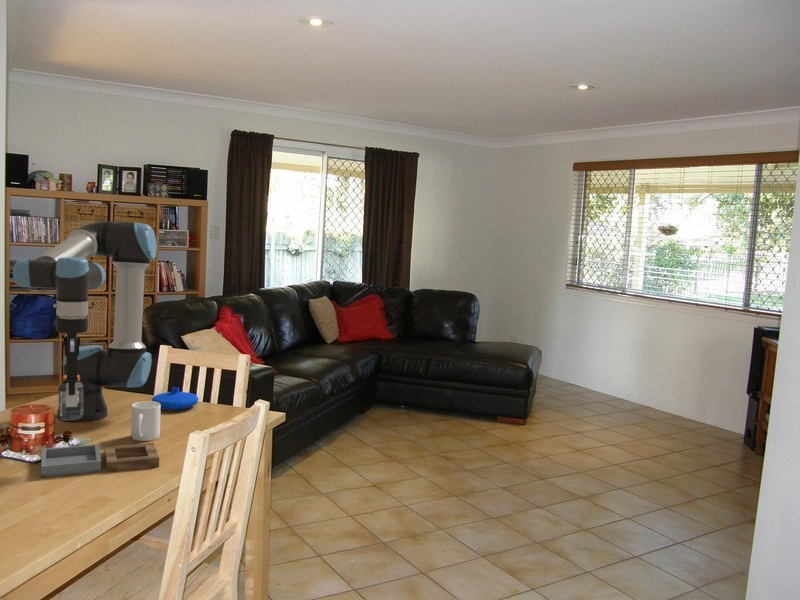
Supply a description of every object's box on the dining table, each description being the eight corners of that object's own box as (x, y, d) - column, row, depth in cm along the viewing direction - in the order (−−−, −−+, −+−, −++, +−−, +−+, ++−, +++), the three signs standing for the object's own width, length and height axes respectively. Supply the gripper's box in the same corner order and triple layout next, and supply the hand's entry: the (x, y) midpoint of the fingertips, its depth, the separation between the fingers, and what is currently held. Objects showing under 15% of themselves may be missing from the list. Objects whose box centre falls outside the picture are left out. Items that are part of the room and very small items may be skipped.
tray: (42, 459, 186) (42, 448, 185) (98, 454, 192) (98, 444, 192) (41, 478, 173) (40, 466, 173) (100, 471, 179) (101, 461, 179)
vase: (202, 402, 251) (203, 383, 250) (192, 414, 235) (193, 394, 234) (158, 400, 249) (159, 381, 248) (146, 412, 234) (146, 392, 233)
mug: (150, 446, 201) (151, 412, 200) (122, 445, 200) (122, 411, 199) (163, 433, 213) (164, 401, 212) (136, 432, 212) (137, 400, 211)
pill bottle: (69, 413, 184) (69, 372, 183) (88, 415, 183) (88, 374, 182) (53, 418, 179) (53, 376, 177) (72, 421, 177) (73, 379, 176)
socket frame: (103, 452, 194) (103, 443, 194) (152, 447, 200) (152, 439, 199) (107, 472, 180) (107, 462, 179) (159, 466, 186) (159, 457, 185)
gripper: (56, 311, 185) (55, 394, 187) (55, 322, 168) (55, 413, 170) (86, 311, 188) (85, 393, 191) (89, 322, 171) (88, 411, 174)
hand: (71, 402), depth 180 cm, fingers closed on pill bottle, 6 cm apart
